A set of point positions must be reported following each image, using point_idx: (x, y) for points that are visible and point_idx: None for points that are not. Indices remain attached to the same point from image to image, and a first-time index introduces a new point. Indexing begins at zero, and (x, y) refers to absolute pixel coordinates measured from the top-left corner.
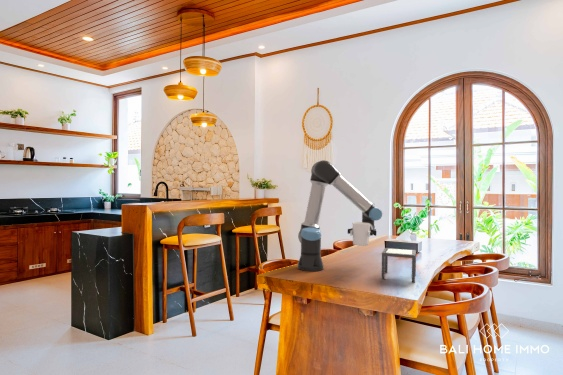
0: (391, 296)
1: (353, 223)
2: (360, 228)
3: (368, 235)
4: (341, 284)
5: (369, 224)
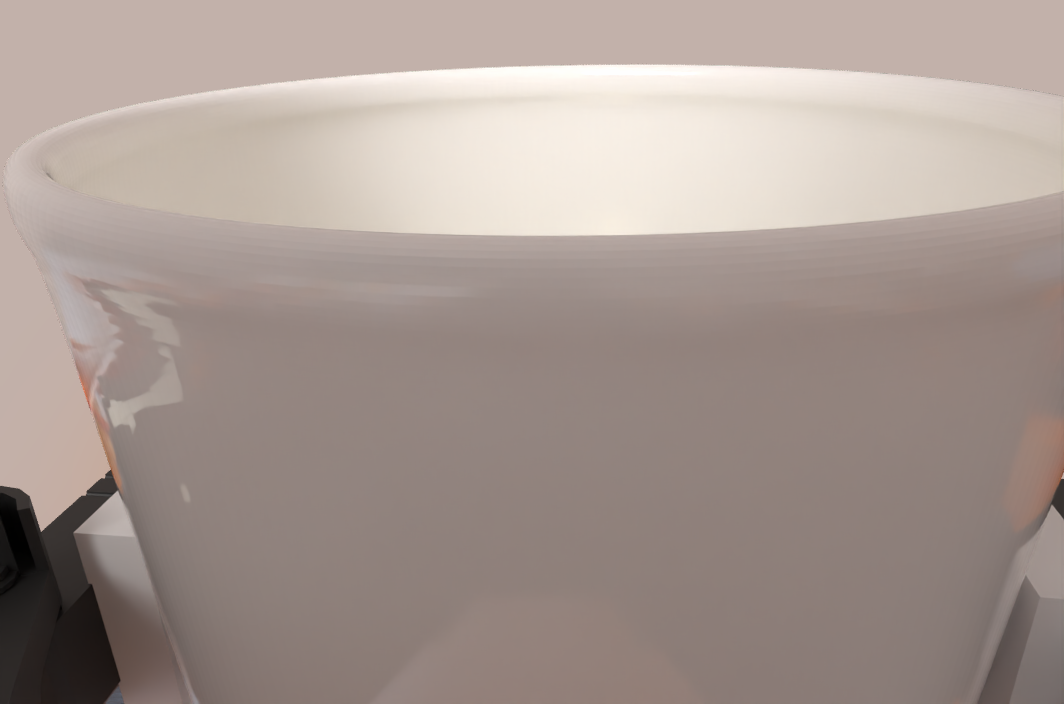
0: None
1: (887, 83)
2: (573, 225)
3: None
4: None
5: (197, 119)
